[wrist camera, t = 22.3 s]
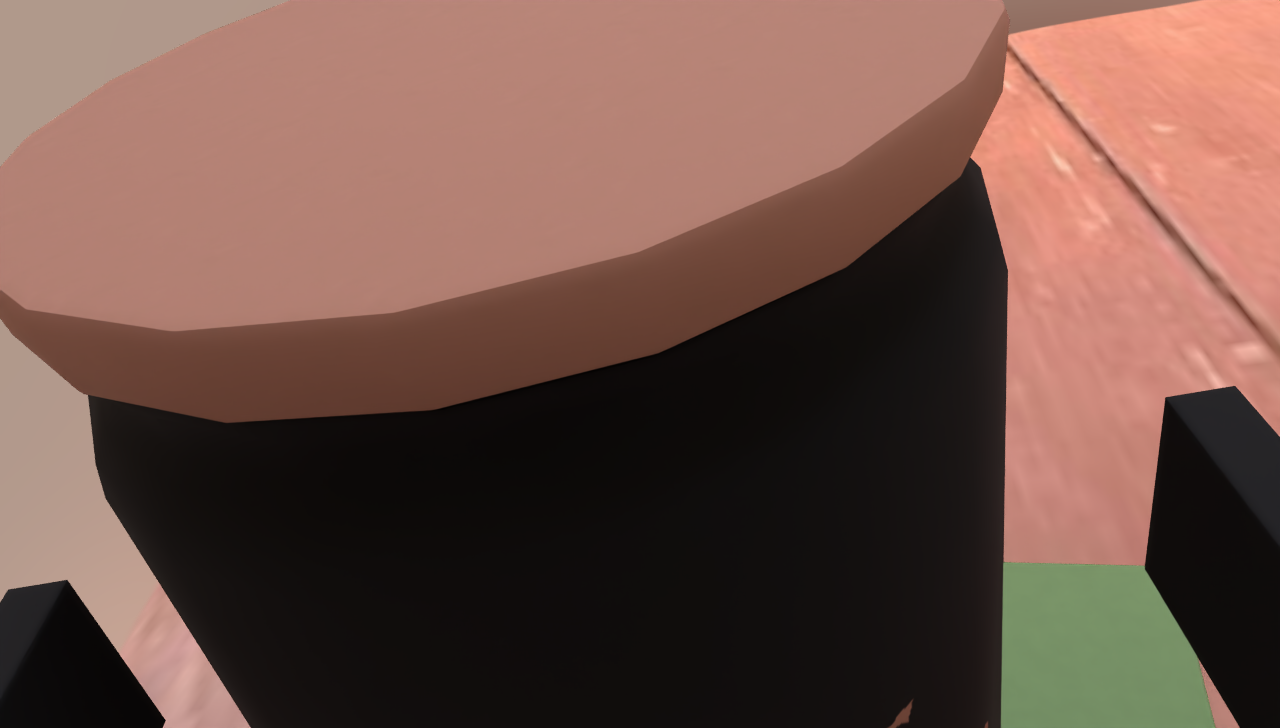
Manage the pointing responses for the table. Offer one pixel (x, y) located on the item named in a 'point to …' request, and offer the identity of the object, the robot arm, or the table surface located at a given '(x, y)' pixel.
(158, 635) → the table surface
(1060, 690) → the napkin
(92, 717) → the robot arm
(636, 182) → the coffee jar
